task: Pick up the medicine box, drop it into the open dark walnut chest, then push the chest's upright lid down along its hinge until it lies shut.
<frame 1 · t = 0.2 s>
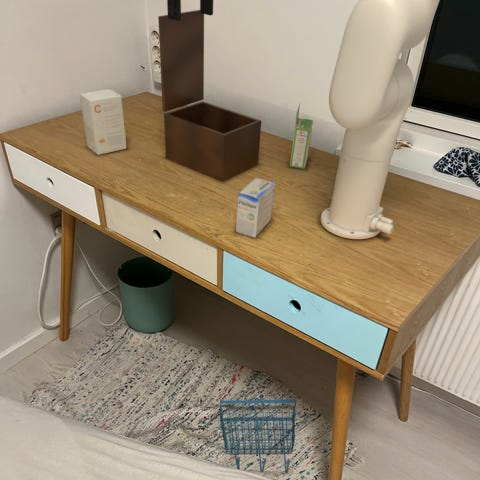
hand: (190, 16, 105), 31 cm above the table, tool pointing down, fingers open, 9 cm apart
medicine box: (253, 227, 102), on the table
chest lid: (182, 61, 116), point 21 cm above the table, hinge at 90.0°
small box: (107, 148, 128), on the table
ink box: (298, 163, 127), on the table
chest: (211, 161, 125), on the table
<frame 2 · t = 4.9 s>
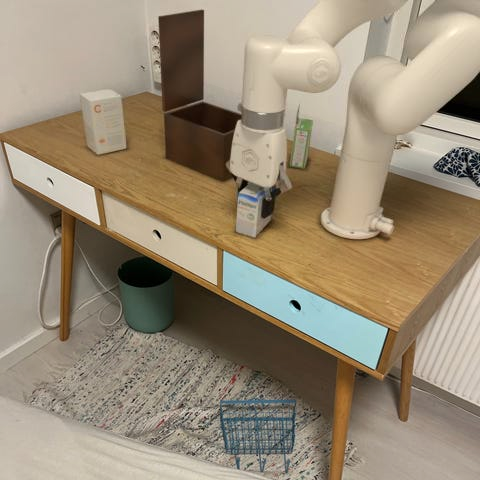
hand: (255, 209, 100), 4 cm above the table, tool pointing down, fingers closed on medicine box, 5 cm apart
medicine box: (253, 227, 102), on the table, touching gripper
everything else where it was.
when the fingers open (12 cm above the table, at t = 12.2 s): medicine box drops 8 cm, resting on chest.
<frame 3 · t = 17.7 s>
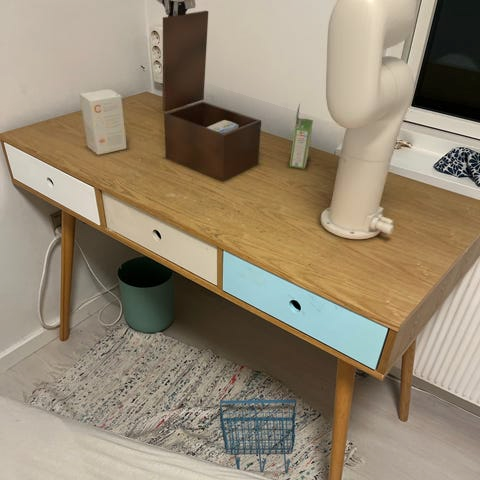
hand: (176, 35, 113), 26 cm above the table, tool pointing down, fingers closed
medicine box: (220, 162, 124), point 1 cm above the table, touching chest
chest lid: (185, 62, 115), point 21 cm above the table, hinge at 86.1°
everything else where it was.
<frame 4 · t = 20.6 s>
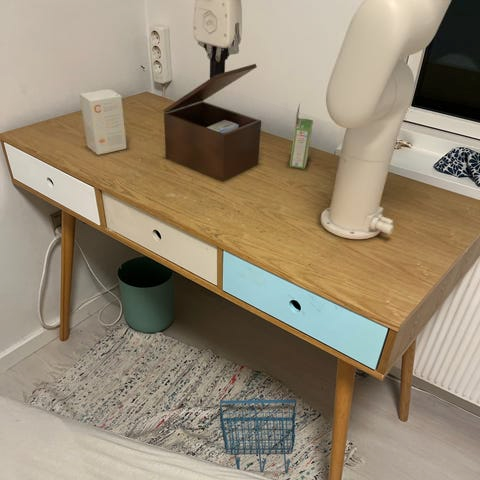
hand: (217, 78, 112), 19 cm above the table, tool pointing down, fingers closed
chest lid: (208, 89, 115), point 17 cm above the table, hinge at 34.4°, touching gripper
everything else where it was.
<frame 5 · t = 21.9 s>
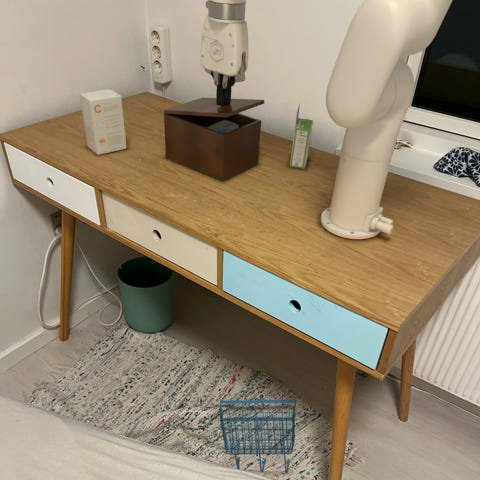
hand: (223, 104, 114), 14 cm above the table, tool pointing down, fingers closed
chest lid: (213, 106, 116), point 13 cm above the table, hinge at 11.6°, touching gripper
everything else where it was.
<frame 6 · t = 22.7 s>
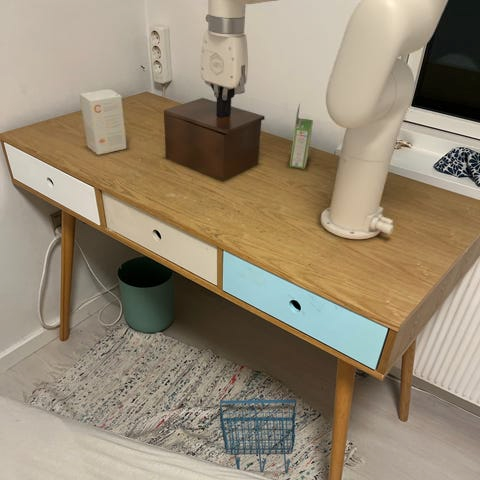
hand: (223, 115, 116), 12 cm above the table, tool pointing down, fingers closed
chest lid: (214, 114, 118), point 11 cm above the table, hinge at 1.2°, touching gripper
everything else where it was.
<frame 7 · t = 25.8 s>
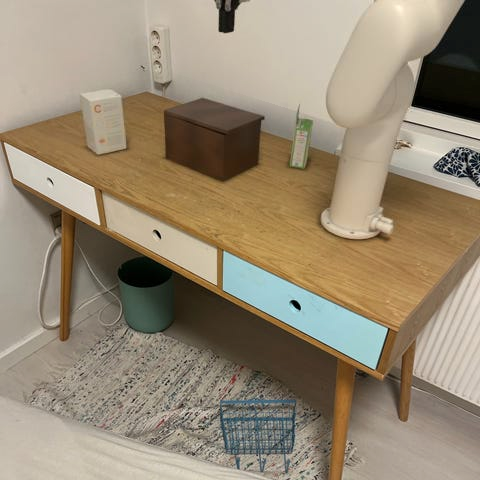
hand: (226, 31, 105), 29 cm above the table, tool pointing down, fingers closed
chest lid: (214, 114, 118), point 11 cm above the table, hinge at 1.1°
everything else where it was.
at the end: medicine box inside the target area in the chest (2.7 cm from its centre), point 0.6 cm above the chest's base; chest lid at +1° (first picture: +90°) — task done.
